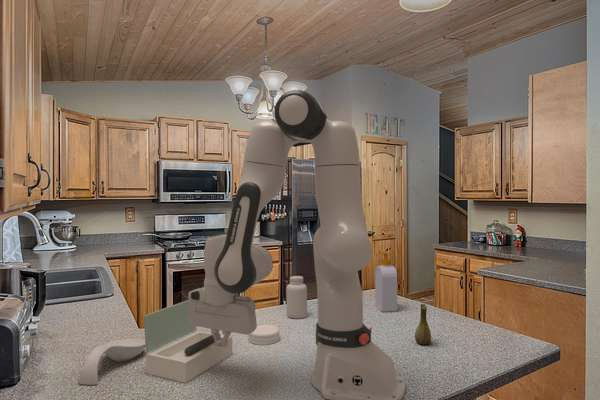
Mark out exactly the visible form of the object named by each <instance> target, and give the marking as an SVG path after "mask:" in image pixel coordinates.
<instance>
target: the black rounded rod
mask: <svg viewBox="0 0 600 400" xmlns="http://www.w3.org/2000/svg"><path fill="white" fill-rule="evenodd" d="M220 337H221V336H220ZM213 342H215V339H214V337H213V335H211V336H209V337H207V338H205V339H203V340H201V341H199V342H197V343H195V344H193V345H191V346H189V347H187V348H186V349H185V351H184V352H185V354H186V355H191V354H193V353H195V352H196V351H198V350H200V349H202V348H204V347H206V346H207V345H209V344H211V343H213Z"/></svg>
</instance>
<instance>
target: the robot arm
mask: <svg viewBox="0 0 600 400" xmlns="http://www.w3.org/2000/svg"><path fill="white" fill-rule="evenodd" d="M273 114H274V119H275V120H261V121H259V122H257V123H255V124H254V125H253V126H252V127H251V129H250V131H249V132H250V133H249V136H248V139H247V141H246V147H245V151H244V156H243V163H242V167H241V168H242V170H241V176H240V182H239V184H238V187H237V188H238V189H237V192H236V194H235V197H234V200H233V205H232V210H231V212H230V218H229V223H228V228H227V232H221V233H215V234H212V235H210V236H208V237H207V239H206V241H205V245H204V251H203V269H204V272H205V276H204V281H203V286H201V287H199V288H195V289H193V290H191V291H189V292H188V293H187V295H188V296H187V297H188V300H190V301H189V302H188V306H187V321H188V323H189V325H192V326H196V327H198V328H205V329H210V333H212V335H213V337H214V339H215V346H221V347H226V346H227V345H228V338H229V336H231V335H232V333H236V334H241V335H247V336H248V335H249V334H251V333H252V332H254V331H255V330H256V328H257V316H256V302H255V301H254V300H253V299H252V298H251V296H243V295H240V294H242V293H245V292H246V291H248V290H249V289H250V288H251V287H252V286H255V285H256V284H258V283H259V282H262V281H263V280H264V279H266V278H267V277H269V275H270V274H271V272H272V271H273V266H274V261H273V257H272V254H271V252H270V251H269V249H267V248H266V247H264V246H261V245H257V244H254V239H255V234H256V229H257V223H258V219H259V216H260V214H261V212H262V211H263V209H264V208H265V207H266V205H268V204H269V203H270V202H272V200H273V199H275V198H276V197H277V196H278V195H279V194H280V193H281V190H282V188H283V186H284V182H285V178H286V172H287V165H288V158H289V157H288V156H289V153H290V150H291V148H292V147H296V148H297V147H302V146H306V145H308V146H309V145H311V146H312V148H313V153H314V154H313V155H314V177H315V178H314V182H315V183H314V185H315V201H316V206H317V211H318V217H319V225H320V226H319V227H318V228H317V229H316V231H315V233H314V235H313V239H312V245H313V246H312V248H313V260H314V261H313V262H314V272H315V273H314V274H315V281H316V291H317V292H316V293H317V294H316V295H317V322H316V324H315V344H316V356H315V363H314V368H313V372H312V376H311V382H310V383H311V384H312V386H313V387H314V388H315V389H317V390H318V391H319V392H320V394H321V396H322V397H323V399H326V400H402V399H403V397H404V396H405V394H406V381H405V380H404V378H403V377H402V376H400V375H397V374H396V373H397V372H396V368H395V364H394V361H393V359H392V358H391V356H389V354H387V353H386V352H385V351H383V350H382V349H381V348H380V347H379V346H378V345H376V344H375V343H374V342H373V341H372V332H373V331H372V329H373V327H372V326H370V327H369V328H368V327H367V326H366V324H364V321H363V319H364V316H363V315H364V314H363V313H364V311H363V310H364V308H363V307H364V306H363V305H364V304H363V303H364V301H363V297H364V294H363V289H362V287H361V283H360V282H361V281H360V277H359V271H362V270H363V269H364V268H365V267H366V266H367V265H368V264H369V263H370V261H371V259H372V254H373V247H372V243H371V240H370V237H369V233H368V226H367V222H366V218H365V217H366V216H365V211H364V207H363V202H362V201H363V200H362V185H361V162H360V150H359V143H358V137H357V135H356V131H355V128H354V126H352V124H350V123H348V122H346V121H342V120H330V119H328V117H327V114H326V113H325V110H324V109H323V107H322V105H321V104H320V102H319V101H318V100H317V99H316V98H315V97H314V96H313V95H312V94H311V93H309V92H307V91H305V90H301V89H293V90H292V89H291V90H288V91H287V92H284V93H283V94H282V95H280V97H279V98H278V99H277V101H276V103H275V106H274V113H273ZM219 331H221V332H222V334H220V332H219ZM220 335H224V337H223V338H221V337H220Z"/></svg>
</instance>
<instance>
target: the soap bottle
mask: <svg viewBox="0 0 600 400" xmlns="http://www.w3.org/2000/svg"><path fill="white" fill-rule="evenodd" d="M380 255H383V259H381V260H380V261H381V264H380V265H377V266H376V267H375V272H374V274H375V275H374V279H375V280H374V282H375V284H374V287H375V289H374V290H375V292H374V293H375V296H374V297H375V299H374V300H375V302H374V303H375V308H377V309H378V310H379V311H380V312H381V313H387V312H388V313H389V312H391V313H392V312H398V273H397V269H396V267H395V266H394V265H391V259H388V256H391V254H390V253H388V252H378V253H377V254H376V256H380Z"/></svg>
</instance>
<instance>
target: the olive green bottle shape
mask: <svg viewBox="0 0 600 400" xmlns="http://www.w3.org/2000/svg"><path fill="white" fill-rule="evenodd" d="M427 308H428V307H427V306H426V303H421V304H420V318H419V319H420V321H419V324H418V325H417V327H416V330H415V332H414V340H415V341H416V342H417V343H418V344H419V345H428V344H430V343H431V342H432V333H431V332H432V331H431V329H430V327H429V323H428V321H427V310H428V309H427Z"/></svg>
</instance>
